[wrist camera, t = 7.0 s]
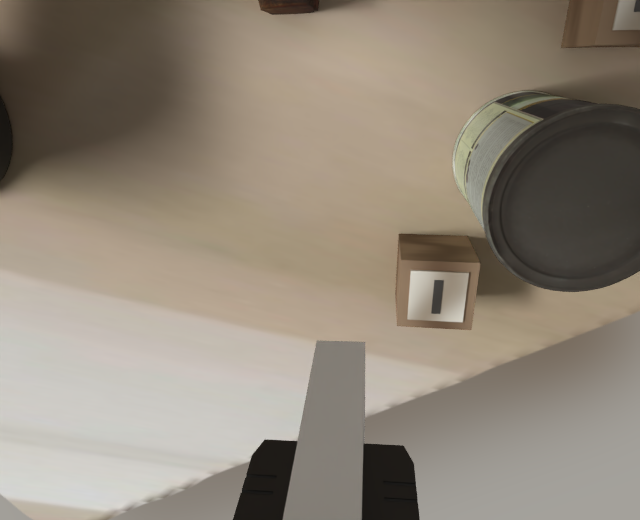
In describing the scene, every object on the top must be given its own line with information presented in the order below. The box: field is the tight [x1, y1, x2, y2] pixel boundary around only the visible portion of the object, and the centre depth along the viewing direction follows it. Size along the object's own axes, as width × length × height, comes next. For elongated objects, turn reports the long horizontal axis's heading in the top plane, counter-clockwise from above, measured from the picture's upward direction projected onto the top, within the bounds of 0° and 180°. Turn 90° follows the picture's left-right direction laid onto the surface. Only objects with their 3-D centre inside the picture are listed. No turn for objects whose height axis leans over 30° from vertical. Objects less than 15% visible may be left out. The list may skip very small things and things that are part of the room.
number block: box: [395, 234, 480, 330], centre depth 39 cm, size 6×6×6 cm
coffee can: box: [453, 91, 640, 292], centre depth 30 cm, size 10×10×14 cm
